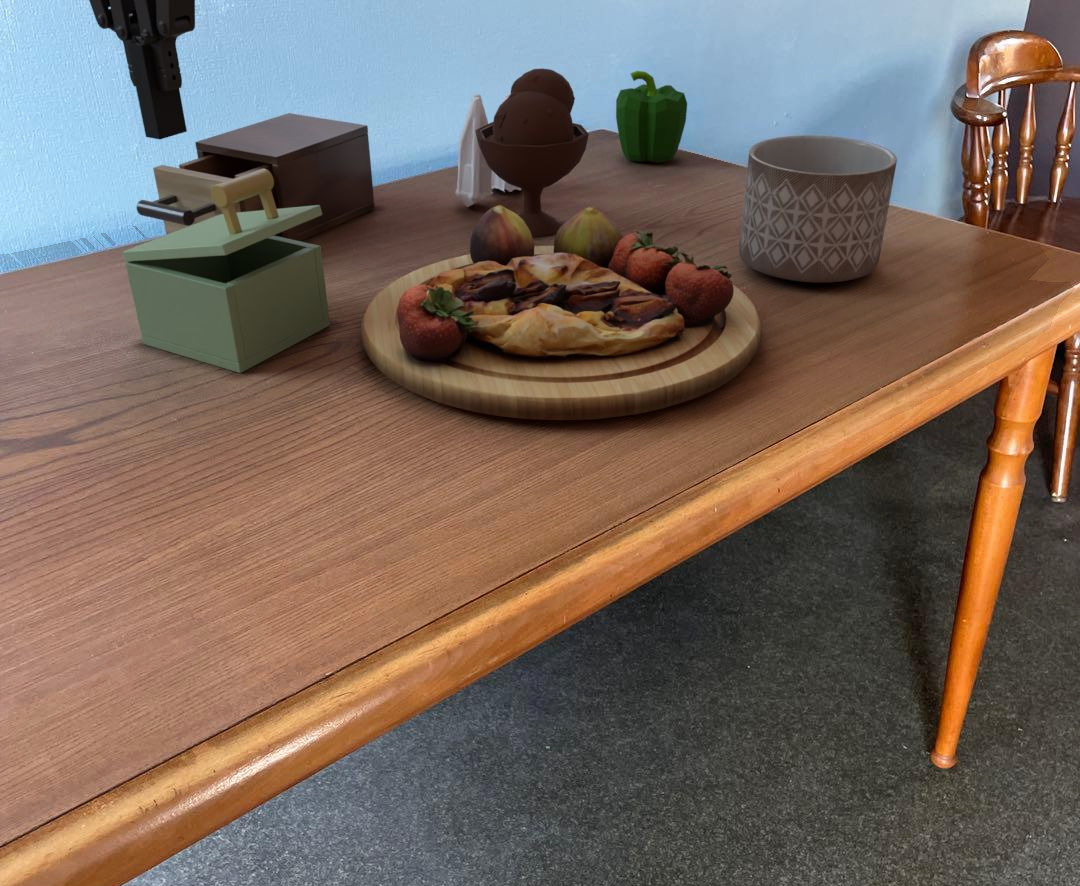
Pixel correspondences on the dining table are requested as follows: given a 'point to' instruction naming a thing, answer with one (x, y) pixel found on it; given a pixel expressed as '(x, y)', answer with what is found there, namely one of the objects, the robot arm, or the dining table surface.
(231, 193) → the chest lid
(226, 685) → the dining table surface
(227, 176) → the drawer
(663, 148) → the bell pepper
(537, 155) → the ice cream bowl
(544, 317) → the wooden plate
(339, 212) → the cabinet
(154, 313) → the chest
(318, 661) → the dining table surface
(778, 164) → the planter
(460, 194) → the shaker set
